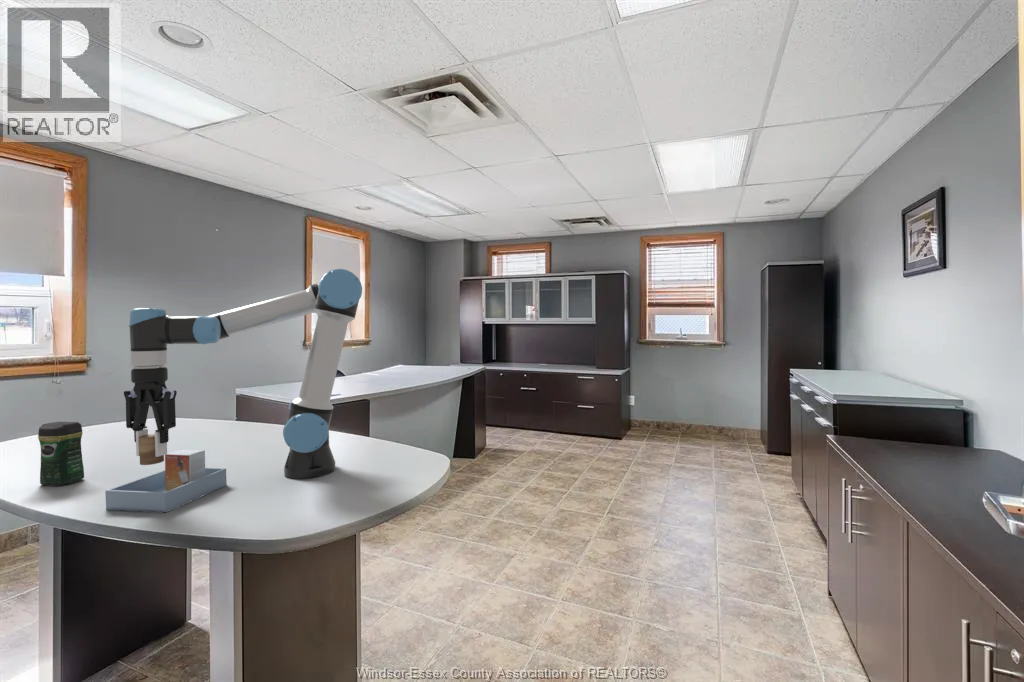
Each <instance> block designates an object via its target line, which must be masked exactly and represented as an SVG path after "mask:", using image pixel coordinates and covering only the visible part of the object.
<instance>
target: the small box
mask: <svg viewBox="0 0 1024 682" xmlns="http://www.w3.org/2000/svg"><path fill="white" fill-rule="evenodd" d="M205 468H206V451H205V449H204V450H203V449H200V450H197V449H195V450H193V449H183V448H182V449H178V450H175V451H171V452H167V454H165V455H164V470H165V490H172V489H175V488H177V487H180V486H182V485H184V484H187V483H189V482H192V481H194V480H197V479H199V478H202V477H204V476H205Z"/></svg>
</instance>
